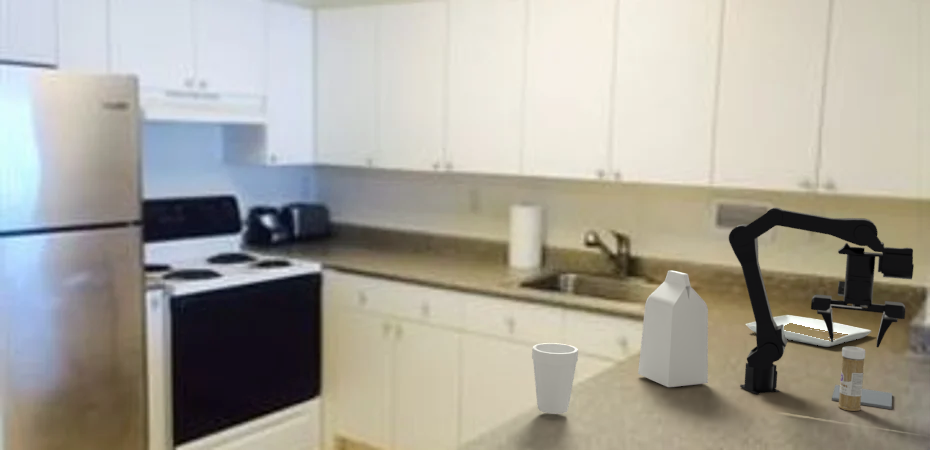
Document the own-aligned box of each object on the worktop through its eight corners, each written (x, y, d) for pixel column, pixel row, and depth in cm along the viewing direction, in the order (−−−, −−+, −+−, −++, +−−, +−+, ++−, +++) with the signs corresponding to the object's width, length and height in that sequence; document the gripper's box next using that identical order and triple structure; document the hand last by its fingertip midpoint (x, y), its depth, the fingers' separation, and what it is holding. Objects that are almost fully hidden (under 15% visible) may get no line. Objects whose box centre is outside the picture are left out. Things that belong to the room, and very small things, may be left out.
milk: (637, 373, 204) (643, 269, 201) (676, 370, 208) (681, 268, 206) (668, 387, 193) (673, 277, 190) (707, 383, 197) (713, 275, 195)
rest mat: (891, 409, 180) (891, 406, 180) (831, 400, 186) (831, 397, 186) (891, 395, 191) (892, 393, 191) (835, 387, 197) (835, 384, 197)
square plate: (831, 353, 233) (832, 339, 232) (742, 335, 253) (743, 322, 253) (872, 340, 251) (873, 328, 250) (786, 324, 271) (787, 312, 271)
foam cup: (584, 412, 172) (587, 351, 171) (549, 418, 167) (552, 355, 166) (555, 399, 180) (558, 341, 179) (521, 405, 175) (523, 345, 174)
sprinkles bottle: (833, 405, 182) (838, 345, 181) (853, 405, 183) (857, 345, 181) (845, 412, 178) (849, 350, 176) (865, 411, 178) (870, 350, 177)
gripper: (905, 274, 186) (900, 342, 188) (816, 267, 194) (811, 332, 196) (907, 281, 176) (902, 352, 178) (813, 273, 184) (808, 341, 186)
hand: (854, 344), depth 185 cm, fingers open, 9 cm apart
